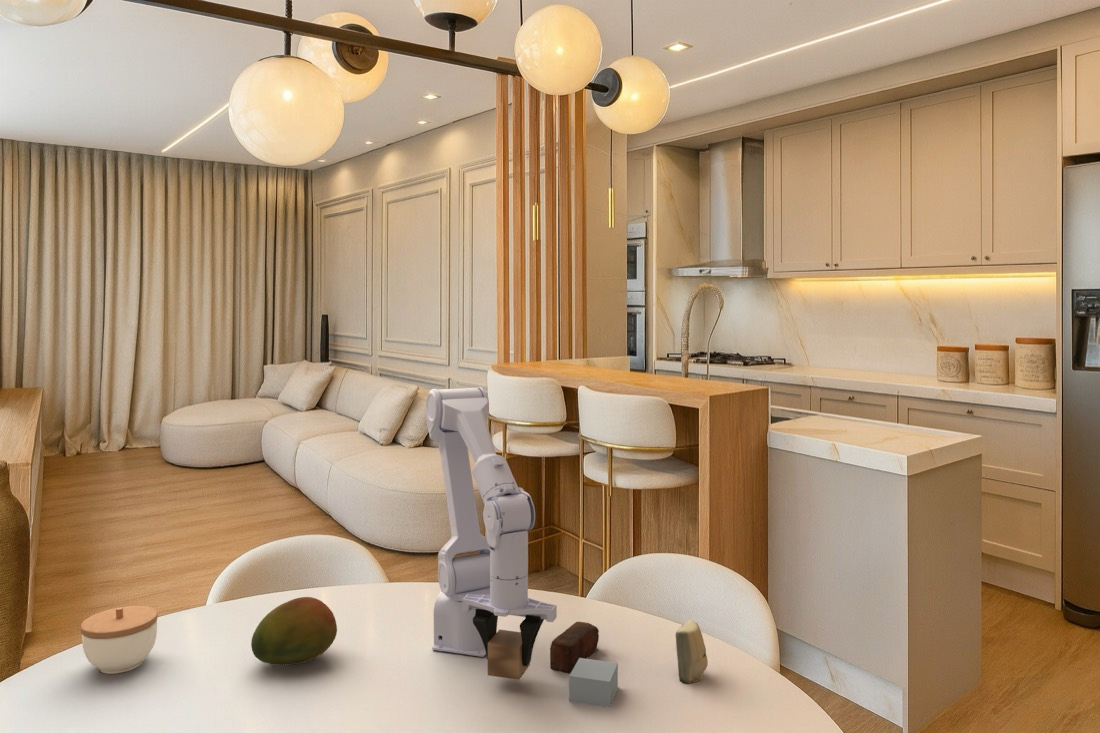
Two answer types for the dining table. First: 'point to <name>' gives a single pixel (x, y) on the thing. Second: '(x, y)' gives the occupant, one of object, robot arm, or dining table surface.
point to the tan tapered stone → (690, 652)
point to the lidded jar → (119, 638)
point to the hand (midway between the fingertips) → (509, 660)
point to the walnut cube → (506, 655)
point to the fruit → (294, 632)
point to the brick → (573, 646)
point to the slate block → (593, 682)
